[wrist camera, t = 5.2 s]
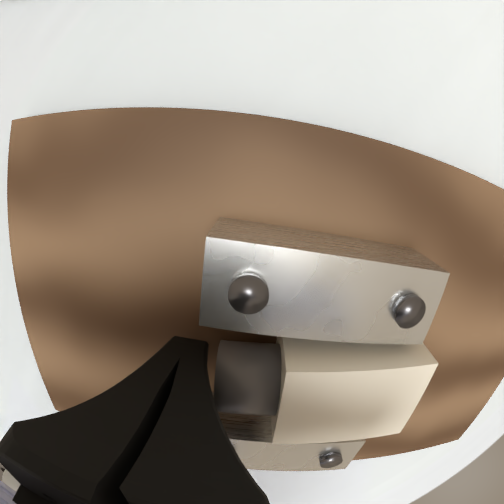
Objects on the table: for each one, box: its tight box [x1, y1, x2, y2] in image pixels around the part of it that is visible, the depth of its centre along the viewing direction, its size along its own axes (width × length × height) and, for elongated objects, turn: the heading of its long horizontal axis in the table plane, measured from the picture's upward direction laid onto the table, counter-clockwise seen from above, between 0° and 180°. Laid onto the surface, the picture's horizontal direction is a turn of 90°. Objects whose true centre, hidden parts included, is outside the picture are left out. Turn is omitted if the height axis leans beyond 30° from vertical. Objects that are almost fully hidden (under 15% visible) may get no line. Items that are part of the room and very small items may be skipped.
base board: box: [7, 108, 504, 460], centre depth 11 cm, size 17×29×1 cm, turn 82°
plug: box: [214, 336, 439, 444], centre depth 9 cm, size 8×4×3 cm, turn 86°
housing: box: [199, 217, 450, 471], centre depth 9 cm, size 10×7×3 cm
